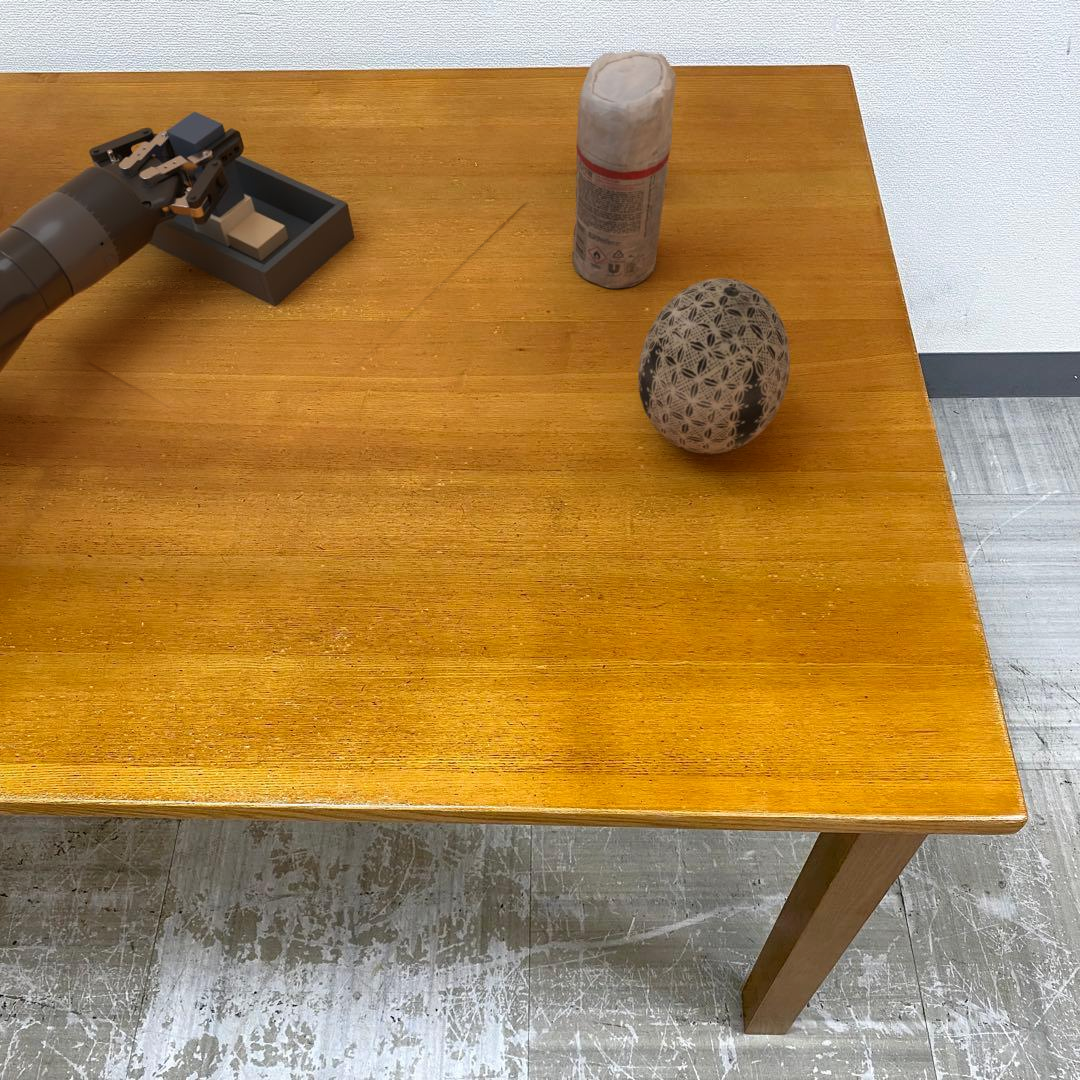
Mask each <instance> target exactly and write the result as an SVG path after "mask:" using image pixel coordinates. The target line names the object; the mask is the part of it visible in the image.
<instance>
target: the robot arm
mask: <svg viewBox="0 0 1080 1080" xmlns="http://www.w3.org/2000/svg"><path fill="white" fill-rule="evenodd" d="M166 131H167V130H162V131H160V132H158V133H154V131H153V129H152V128H151V127H144V128H140V129H138V130H136V131H135V130H134V131H132V132H130V133H127V134H125V135H122V136H120V137H117V138H115V139H114V138H113V139H112V140H109V141H107V142H104V143H102V144H98V145H96V146H93V147H92V148H90V149H89V151H88V153H89V155H90V158H91V161H92V164H93V165H94V166H89V167H88V168H85V169H84V170H82V171H81V172H80V173H78V174H77V175H76V176H74V177H72V178H71V179H70V180H68V181H67V182H66V183H64V184H62V185H61V186H59V188H56V189H55V190H54V191H52V192H51V193H50V194H48V195H47V196H45V197H44V198H42V199H41V200H39V201H38V202H36V203H35V204H34V205H32V206H31V207H29V208H28V209H26V211H25V212H24V213H23V214H21V215H20V216H19V218H17V219H16V220H15V221H14V222H13V223H12V224H11V225H10V226H8V227H7V228H6V229H4V230H3V231H1V232H0V374H1V373H2V372H3V371H4V369H5V367H6V366H8V365H7V364H8V363H9V362H10V361H11V359H12V358H14V355H15V354H16V353H17V352H18V350H19V349H20V348H21V346H22V345H23V344H24V342H25V340H26V339H27V337H28V336H29V335H30V333H31V331H32V330H33V329H34V328H35V326H36V325H38V324H39V323H40V322H42V321H44V320H45V319H46V318H47V317H49V316H50V315H52V314H53V313H55V312H56V311H57V310H58V309H60V308H61V307H62V306H64V305H65V304H66V303H67V302H68V301H70V300H71V299H73V298H74V297H76V296H77V295H79V294H80V293H82V292H84V291H86V290H88V289H90V288H91V287H94V286H95V285H96V284H98V283H99V282H100V281H102V280H103V279H104V278H105V277H107V276H108V275H109V274H111V273H112V272H114V271H115V270H116V269H117V268H119V267H120V266H121V265H122V264H124V263H125V262H126V261H128V260H129V259H130V258H132V257H133V256H134V255H135V254H137V253H138V252H140V250H142V249H144V247H146V246H147V245H148V244H149V242H150V241H151V239H152V237H153V233H154V231H155V228H156V226H157V225H158V224H159V223H161V222H163V221H166V220H169V219H172V218H174V217H175V216H176V215H177V214H183V215H190V216H192V217H193V220H194V223H195V224H198V225H202V224H205V223H206V222H207V221H208V219H209V218H210V216H211V215H212V213H213V211H214V210H215V208H216V207H217V205H218V203H219V202H220V200H221V199H222V197H223V195H224V194H225V192H226V191H227V189H228V187H229V184H228V181H227V178H226V175H225V171H224V167H226V166H227V165H228V164H230V163H231V162H232V161H233V160H235V159H236V158H238V157H239V156H242V154H243V153H244V149H245V145H244V141H243V138H242V135H241V132H240V131H239V130H237V129H235V128H231V127H230V128H229V129H228V130H225V133H224V134H223V135H222V136H220V137H219V138H217V139H216V140H215V141H213V142H212V143H211V144H209V145H208V146H206V147H205V148H206V149H203V150H201V151H199V152H197V153H195V154H193V155H191V156H189V157H187V158H185V157H183V156H178V157H175V154H174V152H173V149H172V146H171V143H170V140H169V138H168V135H167V132H166ZM136 145H139V146H138V147H137V148H136V149H135V150H134V151H133V150H132V148H133V147H134V146H136ZM201 165H202V166H203V169H204V170H203V172H201V173H199V174H197V175H195V173H194V170H195V168H197V167H199V166H201ZM179 171H181V174H182V177H183V179H184V185H183V183H182V180H181V177H180V175H179V173H178V172H179Z"/></svg>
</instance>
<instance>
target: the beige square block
mask: <svg viewBox="0 0 1080 1080" xmlns="http://www.w3.org/2000/svg"><path fill="white" fill-rule="evenodd" d="M227 236H228V239H229V242H230V245H231V247H233V248H235V249H237V250H239V251H241V252H243V253H245V254H247V255H249V256H251V257H253V258H255V259H258V260H260V261H262V260H263V259H265V258H266V257H267V256H268V255H269V254H271V253H272V252H273V251H274V250H275V249H277V248H278V247H279V246H280V245H281V244H283V243H284V242H285V241H286V240H287V239H288V235H287V231H286V227H285V225H283V224H280V223H278V222H276V221H274V220H272V219H270V218H268V217H266V216H263V215H261V214H259V213H257V212H254V213H252V214H251V215H250V216H249V217H247V218H246V219H245V220H244V221H242V222H241V223H240V224H238V225H237V226H236V227H235V228H233V229H232V230H231V231H230V232H228V233H227Z"/></svg>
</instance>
